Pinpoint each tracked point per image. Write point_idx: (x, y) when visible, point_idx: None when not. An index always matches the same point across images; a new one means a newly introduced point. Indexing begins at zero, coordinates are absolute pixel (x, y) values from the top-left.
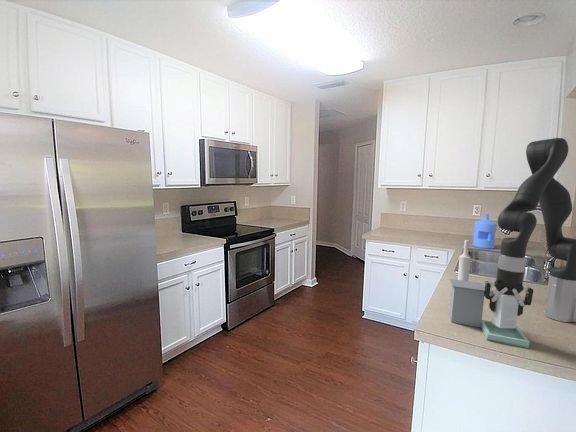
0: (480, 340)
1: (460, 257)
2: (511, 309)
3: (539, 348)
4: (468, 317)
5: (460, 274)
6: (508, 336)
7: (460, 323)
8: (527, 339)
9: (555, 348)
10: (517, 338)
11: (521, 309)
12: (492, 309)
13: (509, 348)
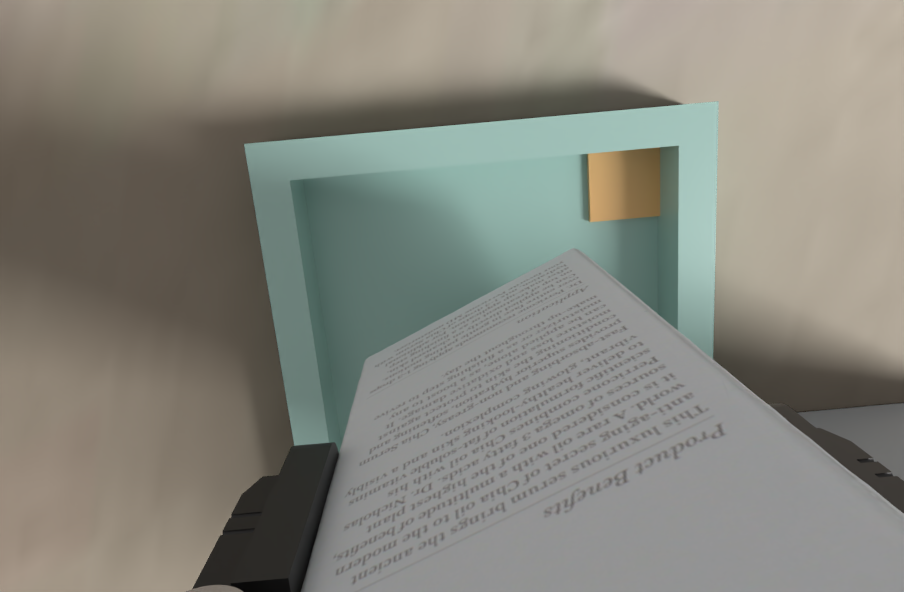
0: (759, 58)
1: None
2: (465, 454)
3: (160, 201)
4: (879, 457)
5: None
6: (441, 299)
7: (892, 405)
8: (259, 211)
9: (6, 294)
10: (353, 298)
11: (246, 544)
12: (800, 416)
13: (472, 14)
